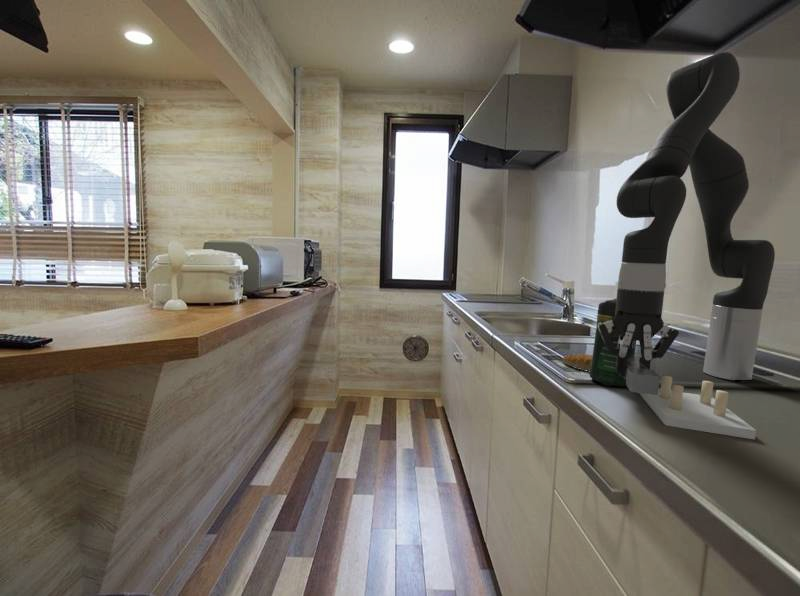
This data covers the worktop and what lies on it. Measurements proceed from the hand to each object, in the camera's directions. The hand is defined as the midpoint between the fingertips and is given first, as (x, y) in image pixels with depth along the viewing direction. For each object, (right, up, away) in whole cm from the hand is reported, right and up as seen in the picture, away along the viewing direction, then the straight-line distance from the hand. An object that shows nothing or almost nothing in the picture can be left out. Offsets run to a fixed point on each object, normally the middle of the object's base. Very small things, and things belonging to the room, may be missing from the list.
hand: (631, 376), depth 75 cm
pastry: (+1, -3, +22) cm, 22 cm away
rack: (+7, -6, -5) cm, 11 cm away
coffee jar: (+2, -4, +12) cm, 13 cm away
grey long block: (-1, -1, -2) cm, 2 cm away
